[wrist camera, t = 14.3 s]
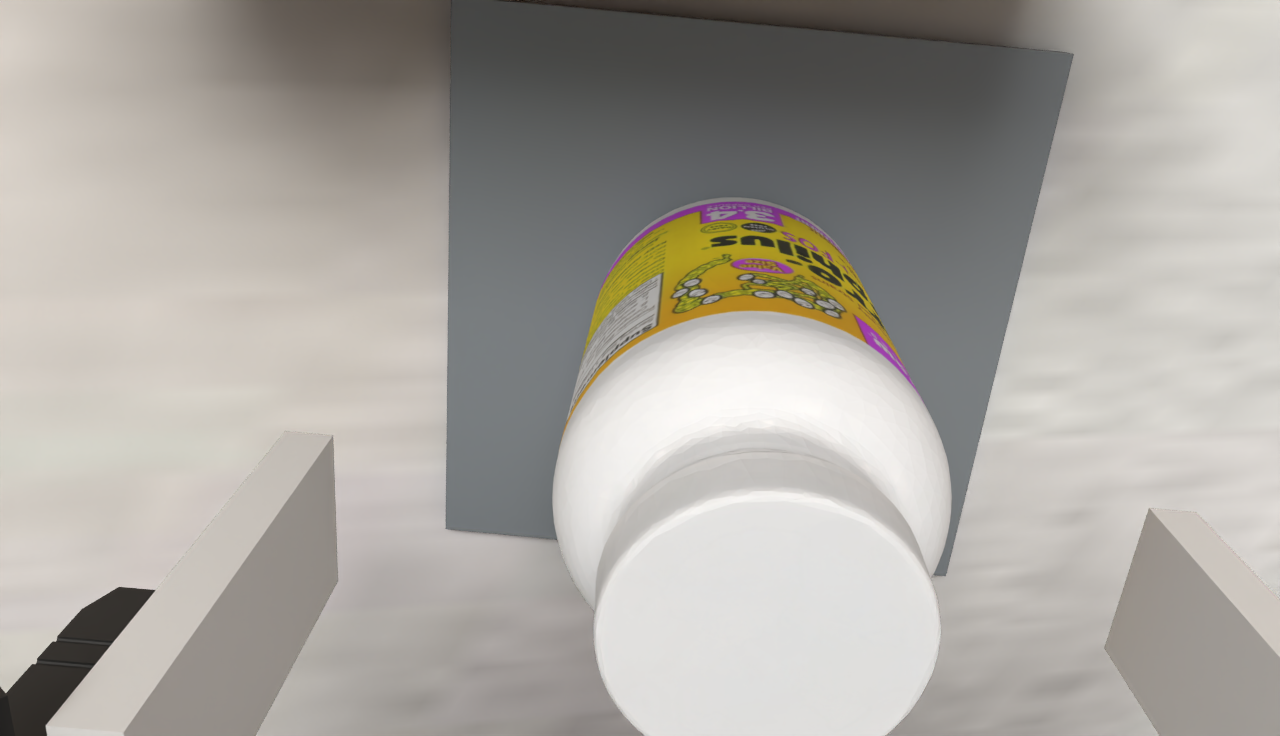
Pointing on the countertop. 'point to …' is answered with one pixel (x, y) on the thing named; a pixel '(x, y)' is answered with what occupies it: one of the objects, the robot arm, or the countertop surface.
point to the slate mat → (715, 168)
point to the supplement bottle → (751, 485)
